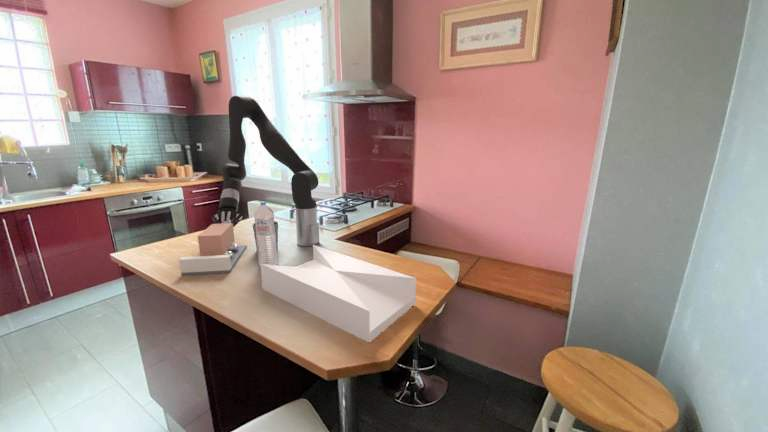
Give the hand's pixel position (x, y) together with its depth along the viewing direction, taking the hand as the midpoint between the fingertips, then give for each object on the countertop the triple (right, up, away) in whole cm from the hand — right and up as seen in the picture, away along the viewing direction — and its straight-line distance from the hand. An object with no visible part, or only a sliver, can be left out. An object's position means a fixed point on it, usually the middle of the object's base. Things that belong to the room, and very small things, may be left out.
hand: (224, 235), depth 134 cm
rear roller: (+1, -7, -3) cm, 7 cm away
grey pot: (+18, -7, +2) cm, 19 cm away
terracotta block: (+1, -5, -7) cm, 9 cm away
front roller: (+2, -9, -10) cm, 14 cm away
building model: (+53, -18, -35) cm, 66 cm away
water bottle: (+24, -11, -13) cm, 29 cm away
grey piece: (+2, -9, -9) cm, 13 cm away
